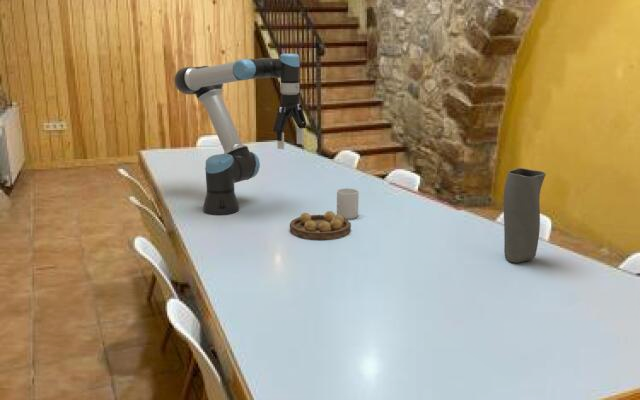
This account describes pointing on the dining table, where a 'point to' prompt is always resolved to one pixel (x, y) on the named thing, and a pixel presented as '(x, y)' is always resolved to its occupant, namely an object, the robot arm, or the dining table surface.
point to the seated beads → (326, 223)
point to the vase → (522, 214)
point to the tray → (300, 231)
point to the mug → (347, 203)
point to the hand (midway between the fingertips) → (290, 146)
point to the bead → (305, 218)
